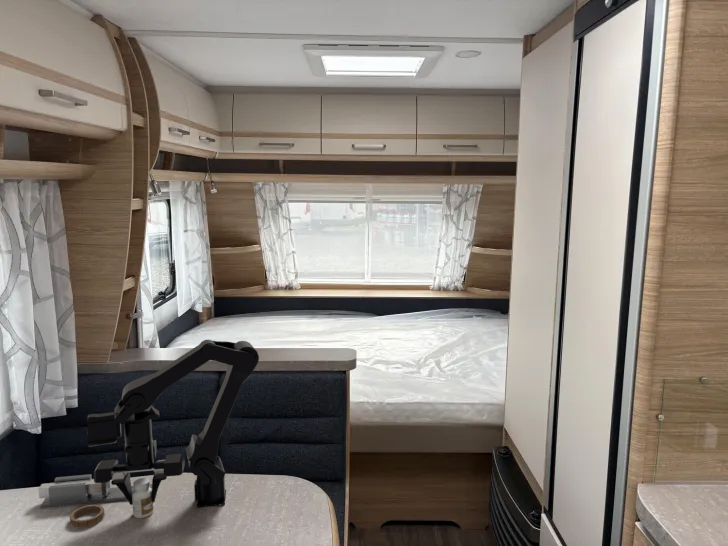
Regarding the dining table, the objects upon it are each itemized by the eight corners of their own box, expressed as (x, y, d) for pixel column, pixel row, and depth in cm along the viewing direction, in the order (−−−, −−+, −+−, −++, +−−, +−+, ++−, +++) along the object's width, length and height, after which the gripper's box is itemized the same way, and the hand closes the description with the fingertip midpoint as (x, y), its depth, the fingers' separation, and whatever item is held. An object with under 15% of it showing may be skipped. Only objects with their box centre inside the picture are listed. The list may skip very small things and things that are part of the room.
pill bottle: (146, 519, 129) (144, 487, 128) (129, 517, 130) (127, 485, 129) (157, 509, 134) (155, 477, 133) (140, 507, 135) (138, 476, 134)
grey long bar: (110, 488, 141) (109, 474, 141) (106, 495, 138) (105, 481, 137) (44, 494, 138) (42, 480, 138) (38, 502, 135) (37, 487, 134)
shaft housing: (152, 486, 144) (151, 468, 143) (148, 497, 139) (147, 479, 138) (48, 496, 140) (47, 478, 139) (40, 508, 134) (39, 489, 134)
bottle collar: (107, 509, 134) (106, 503, 134) (99, 525, 127) (99, 519, 127) (75, 512, 133) (75, 506, 132) (66, 529, 126) (66, 522, 126)
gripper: (185, 421, 139) (189, 481, 141) (103, 427, 136) (108, 489, 138) (180, 440, 128) (183, 505, 130) (90, 447, 125) (95, 514, 127)
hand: (142, 502), depth 132 cm, fingers closed on pill bottle, 4 cm apart
